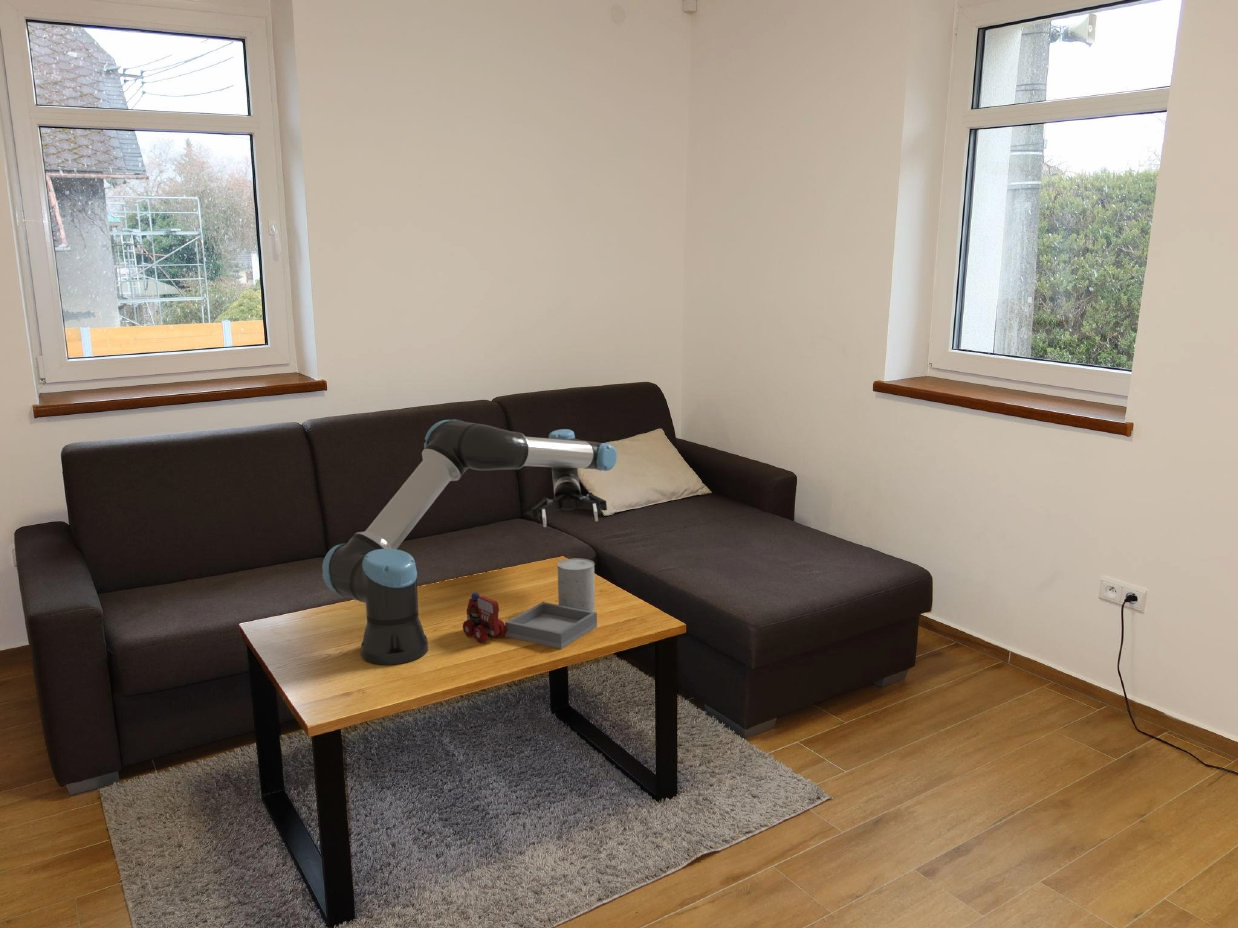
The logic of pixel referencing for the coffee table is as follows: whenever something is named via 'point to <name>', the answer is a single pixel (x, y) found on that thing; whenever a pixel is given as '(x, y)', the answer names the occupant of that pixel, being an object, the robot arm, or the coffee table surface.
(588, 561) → the grey speckled cylinder
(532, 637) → the tray
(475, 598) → the toy fire truck
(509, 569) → the coffee table surface
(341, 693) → the coffee table surface
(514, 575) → the coffee table surface
